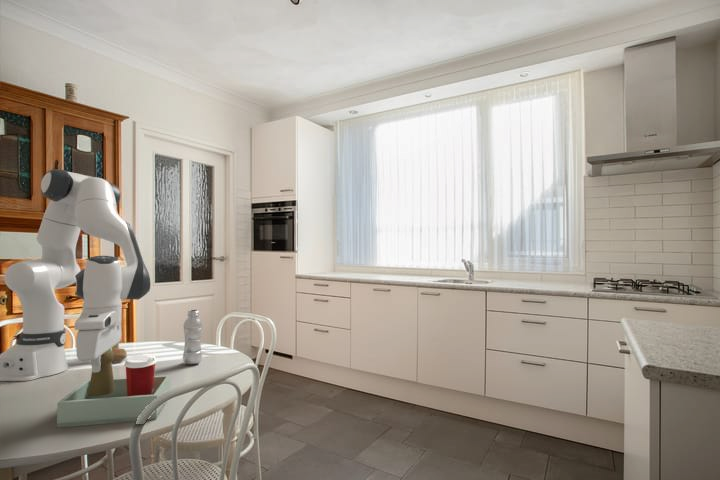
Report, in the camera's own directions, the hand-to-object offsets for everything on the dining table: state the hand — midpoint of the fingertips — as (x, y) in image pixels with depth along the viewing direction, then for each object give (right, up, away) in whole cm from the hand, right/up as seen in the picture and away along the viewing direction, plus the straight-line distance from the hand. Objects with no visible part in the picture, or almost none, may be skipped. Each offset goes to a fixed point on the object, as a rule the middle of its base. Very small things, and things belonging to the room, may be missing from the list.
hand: (101, 368), depth 103 cm
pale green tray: (+4, -12, +1) cm, 12 cm away
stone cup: (-28, -12, +45) cm, 54 cm away
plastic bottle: (+6, -13, +42) cm, 44 cm away
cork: (0, -7, 0) cm, 7 cm away
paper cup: (+9, -12, +2) cm, 15 cm away
